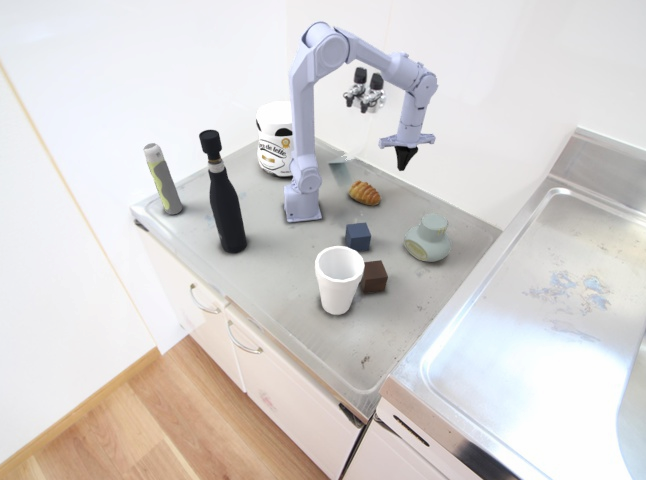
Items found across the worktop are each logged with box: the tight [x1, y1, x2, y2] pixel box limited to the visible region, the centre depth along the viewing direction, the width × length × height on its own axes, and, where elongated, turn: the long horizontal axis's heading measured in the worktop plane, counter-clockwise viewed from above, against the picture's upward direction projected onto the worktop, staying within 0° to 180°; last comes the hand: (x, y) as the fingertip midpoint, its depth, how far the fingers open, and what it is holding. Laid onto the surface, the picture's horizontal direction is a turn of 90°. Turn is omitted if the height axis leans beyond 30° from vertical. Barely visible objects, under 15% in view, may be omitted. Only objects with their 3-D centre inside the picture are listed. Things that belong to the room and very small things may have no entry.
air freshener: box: [403, 212, 452, 263], centre depth 81 cm, size 11×8×10 cm
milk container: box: [255, 100, 294, 178], centre depth 105 cm, size 17×17×18 cm
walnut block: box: [359, 259, 389, 295], centre depth 77 cm, size 5×5×5 cm
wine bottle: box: [198, 129, 248, 254], centre depth 77 cm, size 6×6×30 cm
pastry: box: [348, 180, 382, 207], centre depth 98 cm, size 9×7×4 cm
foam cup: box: [314, 245, 365, 316], centre depth 70 cm, size 10×9×13 cm
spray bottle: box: [142, 142, 183, 215], centre depth 90 cm, size 5×5×20 cm
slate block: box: [344, 221, 372, 253], centre depth 85 cm, size 5×5×5 cm
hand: (400, 168), depth 95 cm, fingers closed
